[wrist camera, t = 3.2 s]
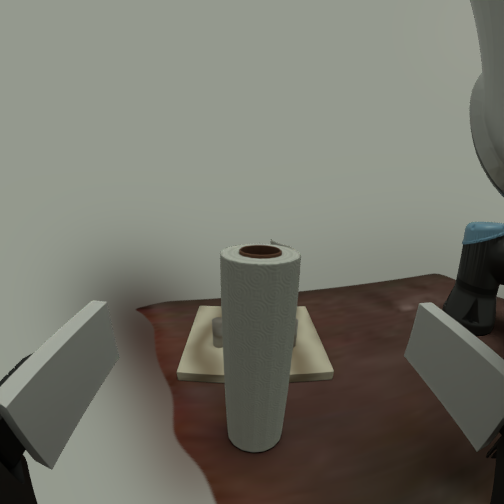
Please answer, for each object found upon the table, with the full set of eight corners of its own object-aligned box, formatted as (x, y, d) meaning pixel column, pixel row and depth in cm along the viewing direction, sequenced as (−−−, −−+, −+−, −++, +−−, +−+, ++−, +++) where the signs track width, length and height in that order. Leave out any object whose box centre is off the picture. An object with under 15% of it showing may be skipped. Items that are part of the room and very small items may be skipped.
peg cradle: (304, 312, 56) (307, 286, 55) (332, 379, 35) (339, 346, 33) (200, 312, 56) (198, 285, 54) (178, 379, 34) (172, 346, 33)
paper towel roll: (252, 462, 21) (257, 266, 16) (217, 430, 26) (204, 247, 21) (298, 429, 26) (325, 249, 21) (263, 404, 31) (271, 236, 25)
